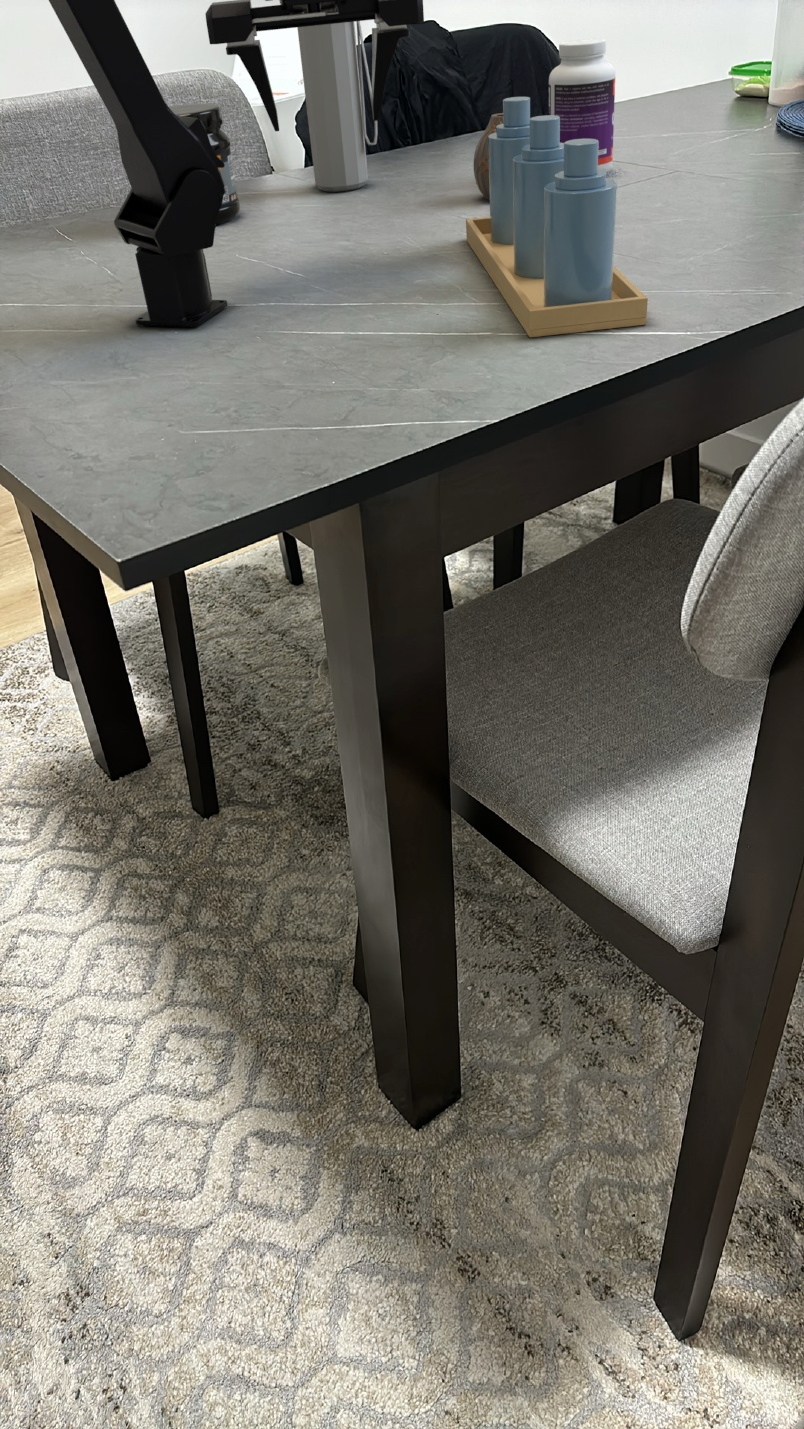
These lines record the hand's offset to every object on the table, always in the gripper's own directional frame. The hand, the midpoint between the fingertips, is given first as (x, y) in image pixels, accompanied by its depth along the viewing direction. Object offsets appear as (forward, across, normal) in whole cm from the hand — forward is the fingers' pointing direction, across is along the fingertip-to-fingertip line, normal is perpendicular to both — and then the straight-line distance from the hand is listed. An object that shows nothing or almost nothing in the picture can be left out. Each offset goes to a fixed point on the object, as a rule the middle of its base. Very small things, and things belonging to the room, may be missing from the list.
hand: (326, 125), depth 96 cm
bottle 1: (+12, -19, -4) cm, 23 cm away
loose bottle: (+12, -18, +9) cm, 24 cm away
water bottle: (+13, -3, -43) cm, 45 cm away
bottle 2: (+12, -19, +22) cm, 32 cm away
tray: (+13, -19, +9) cm, 25 cm away
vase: (+13, -21, -27) cm, 36 cm away
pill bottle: (+13, -32, -34) cm, 49 cm away
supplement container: (+13, +16, -32) cm, 38 cm away
